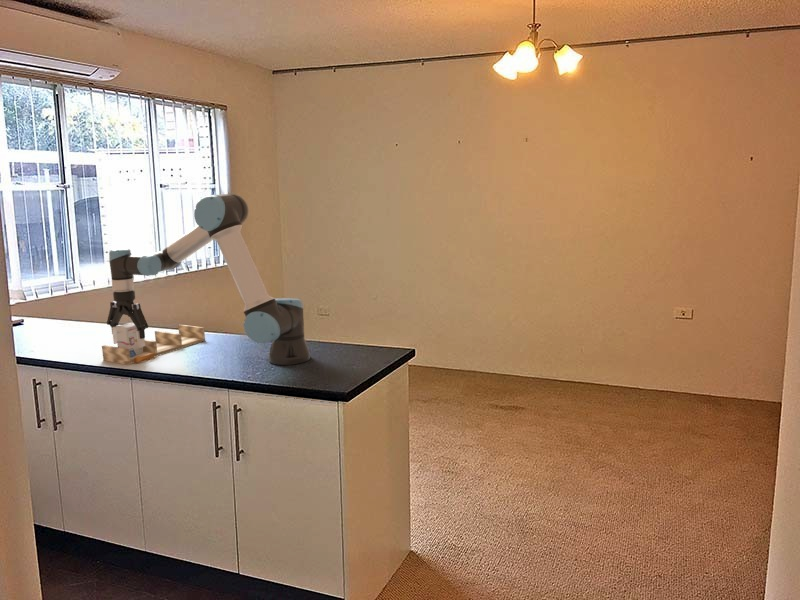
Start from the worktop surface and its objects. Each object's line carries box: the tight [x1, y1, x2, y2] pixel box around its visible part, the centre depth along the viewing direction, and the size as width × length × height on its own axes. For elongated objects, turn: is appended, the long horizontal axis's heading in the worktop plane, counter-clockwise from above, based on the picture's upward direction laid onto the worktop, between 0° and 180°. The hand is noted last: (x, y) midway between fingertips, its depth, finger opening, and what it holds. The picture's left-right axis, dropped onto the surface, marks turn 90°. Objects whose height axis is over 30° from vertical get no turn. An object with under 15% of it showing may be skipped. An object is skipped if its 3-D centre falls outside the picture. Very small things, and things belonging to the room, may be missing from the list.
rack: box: [101, 324, 206, 366], centre depth 267 cm, size 16×38×6 cm, turn 151°
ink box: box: [116, 322, 143, 357], centre depth 256 cm, size 9×5×12 cm, turn 162°
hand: (129, 345), depth 256 cm, fingers open, 13 cm apart
